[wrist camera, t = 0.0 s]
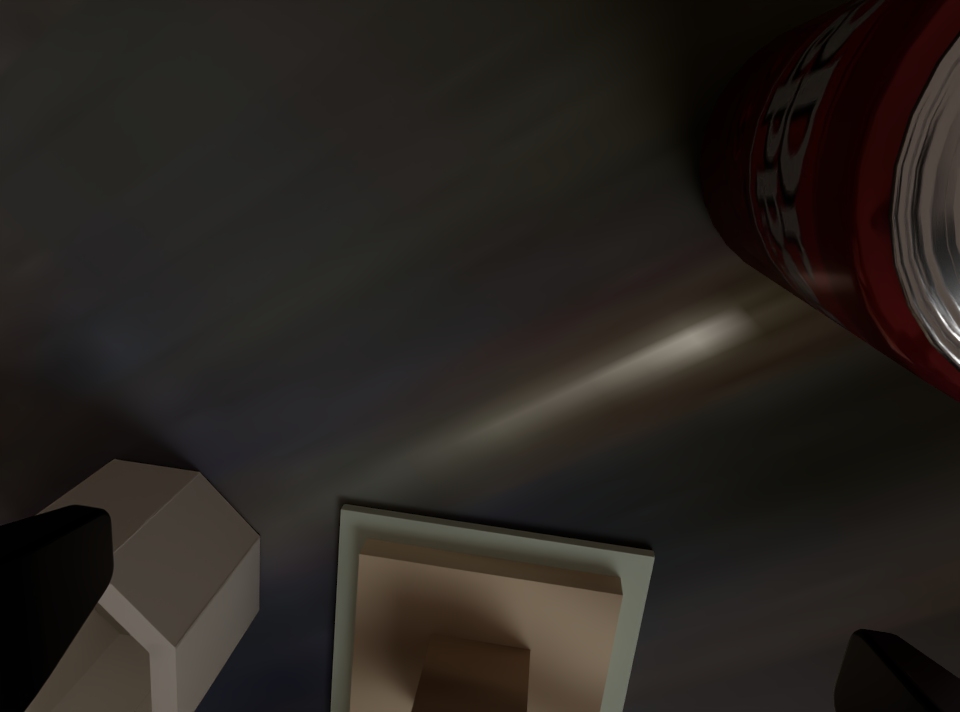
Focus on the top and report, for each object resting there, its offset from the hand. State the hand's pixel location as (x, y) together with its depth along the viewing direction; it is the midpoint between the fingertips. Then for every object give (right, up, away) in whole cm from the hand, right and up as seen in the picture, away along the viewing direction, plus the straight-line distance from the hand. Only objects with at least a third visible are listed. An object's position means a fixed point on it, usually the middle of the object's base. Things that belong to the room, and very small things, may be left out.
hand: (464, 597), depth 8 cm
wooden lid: (0, -8, +18) cm, 20 cm away
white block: (-12, -5, +18) cm, 22 cm away
